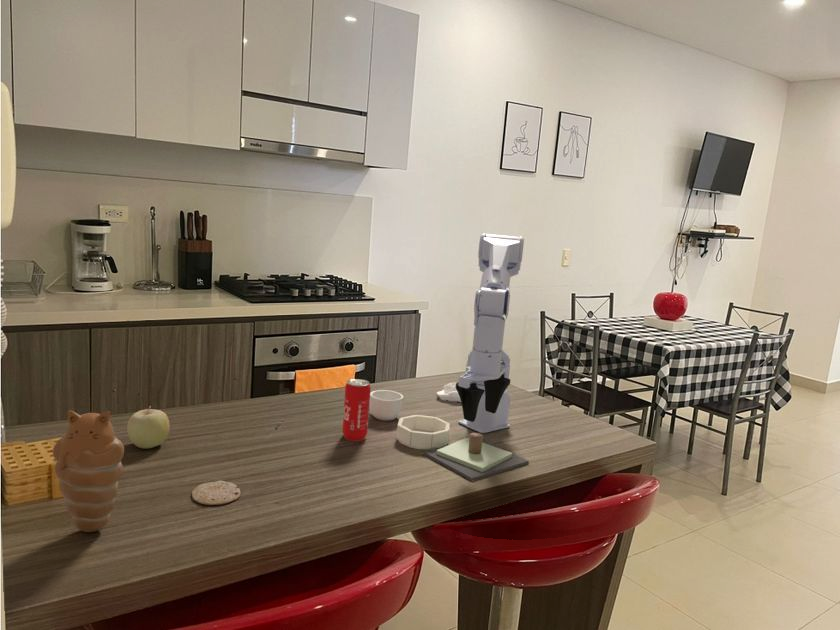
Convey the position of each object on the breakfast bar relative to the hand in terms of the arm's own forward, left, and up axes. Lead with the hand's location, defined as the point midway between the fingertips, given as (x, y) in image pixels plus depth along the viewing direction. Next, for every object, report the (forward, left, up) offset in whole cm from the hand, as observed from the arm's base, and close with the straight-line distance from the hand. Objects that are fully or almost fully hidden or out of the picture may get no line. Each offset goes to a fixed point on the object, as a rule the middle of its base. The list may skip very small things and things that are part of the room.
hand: (480, 416), depth 125 cm
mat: (0, 0, -9) cm, 9 cm away
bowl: (+3, -13, -9) cm, 16 cm away
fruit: (+52, -36, -9) cm, 64 cm away
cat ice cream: (+68, -9, -9) cm, 69 cm away
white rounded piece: (-24, -32, -10) cm, 41 cm away
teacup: (+2, -29, -9) cm, 30 cm away
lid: (0, 0, -8) cm, 8 cm away
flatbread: (+49, -11, -10) cm, 51 cm away
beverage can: (+15, -21, -9) cm, 27 cm away
